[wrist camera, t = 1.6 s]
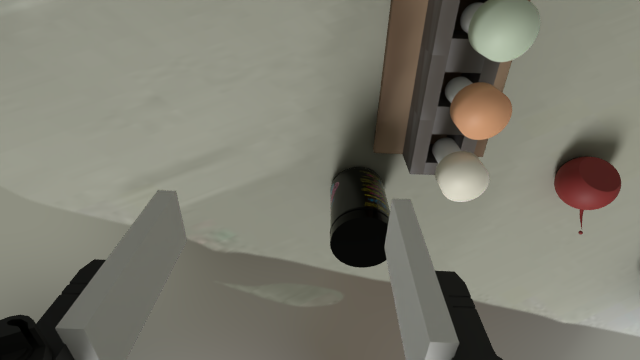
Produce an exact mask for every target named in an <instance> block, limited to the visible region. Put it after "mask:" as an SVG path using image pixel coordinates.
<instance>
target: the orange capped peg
mask: <svg viewBox="0 0 640 360" xmlns="http://www.w3.org/2000/svg"><path fill="white" fill-rule="evenodd" d="M445 96H446V98H447V99H448V100H449V101H450V103H451V106H450V116H451V119H452V121H453V122H454V124H455V125H456V126H457V127H458V129H459V130H460V131H461V133H462V134H463V135H465V136H466V137H468V138H470V139H474V140H483V139H488V138H491V137H493V136H495V135H496V134H498V133H499V132H501V131H502V130H503V129H504V128H505V126H506V125H507V124H508V122H509V120H510V118H511V114H512V105H511V102H510V100H509V98H508V97H507V96H506V95H505V94H503V93H502V92H501V91H500V90H498V89H497V88H496V87H494V86H493V85H491V84H489V83H485V82H477V83H472V82H471V81H470V80H469V79H467V78H466V77H456V78H453V79H452V80H450V81H449V82H448V84H447V85H446V87H445Z"/></svg>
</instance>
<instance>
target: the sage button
mask: <svg viewBox="0 0 640 360" xmlns="http://www.w3.org/2000/svg"><path fill="white" fill-rule="evenodd" d="M460 25H461V28H462V29H463V30H464V31H465V32H466V33H468V38H469V42H470V44H471V46H472V47H473V49H474V50H475V51H477V52H478V53H480V54H481V55H483V56H485V57H486V58H488V59H490V60H492V61H495V62H507V61H511V60H513V59H516V58H518V57H519V56H521V55H522V54H524V53H525V52H526V51H527V50H528V49H529V48H530V47H531V46H532V44H533V43H534V41H535V39H536V37H537V35H538V33H539V29H540V15H539V12H538V10H537V8H536V7H535V6H534V5H533V4H532V3H531V2H530V1H528V0H488V1H486V2H485V3H481V2H475V3H472V4H470V5H469V6H467V7H466V8H465V9H464V11H463V12H462V15H461V18H460Z"/></svg>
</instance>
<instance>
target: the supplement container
mask: <svg viewBox="0 0 640 360" xmlns="http://www.w3.org/2000/svg"><path fill="white" fill-rule="evenodd" d="M330 197H331V229H330V246H331V250H332V252H333V254H334V255H335V257H336V258H337V259H338V260H340V261H341V262H343V263H345V264H347V265H350V266H353V267H371V266H375V265H378V264H380V263H382V262H384V261H385V260H387V259H386V254H385V248H384V247H385V240H386V234H387V228H388V222H389V216H390V210H389V206H388V202H387V198H386V193H385V189H384V185H383V182H382V180H381V178H380V177H379V176H378V175H377V174H376V173H375V172H373V171H372V170H370V169H367V168H363V167H353V168H349V169H346V170H344V171H342V172H341V173H340V174H338V175H337V176H336V178H335V179H334V180H333V182H332V185H331V189H330Z"/></svg>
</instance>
